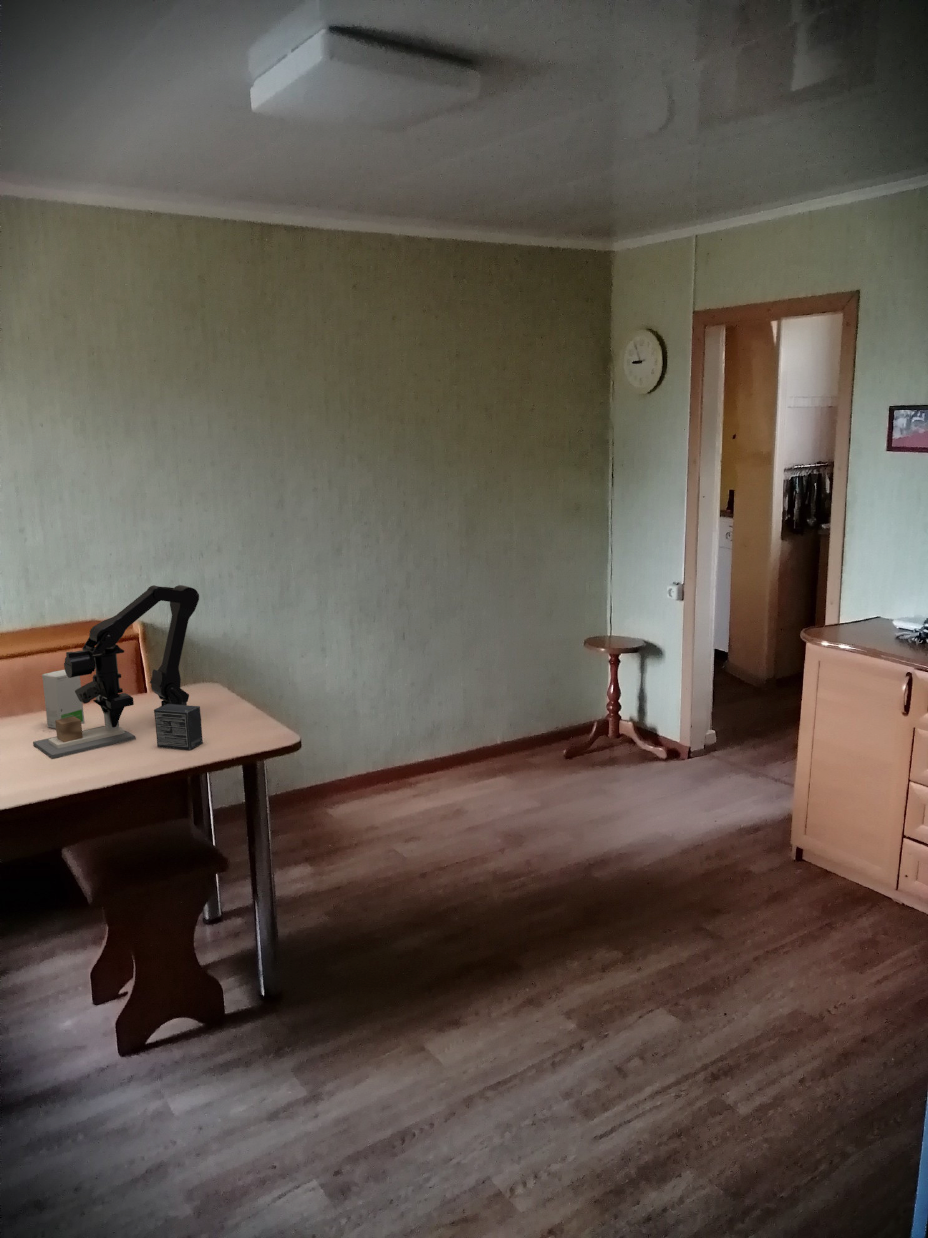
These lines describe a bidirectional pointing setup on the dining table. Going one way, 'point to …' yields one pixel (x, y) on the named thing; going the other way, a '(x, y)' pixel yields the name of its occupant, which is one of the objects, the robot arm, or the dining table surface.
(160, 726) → the small box
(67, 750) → the charcoal board
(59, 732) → the walnut block
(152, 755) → the dining table surface
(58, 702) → the skincare box
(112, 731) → the off-white strip
